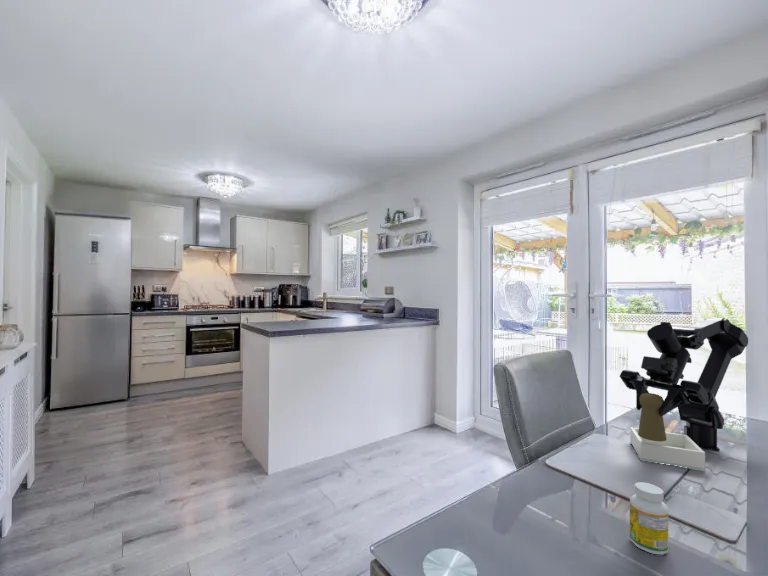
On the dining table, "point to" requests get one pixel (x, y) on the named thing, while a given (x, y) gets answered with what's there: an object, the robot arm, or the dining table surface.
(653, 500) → the supplement bottle
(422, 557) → the dining table surface
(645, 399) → the cork
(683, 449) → the open box
